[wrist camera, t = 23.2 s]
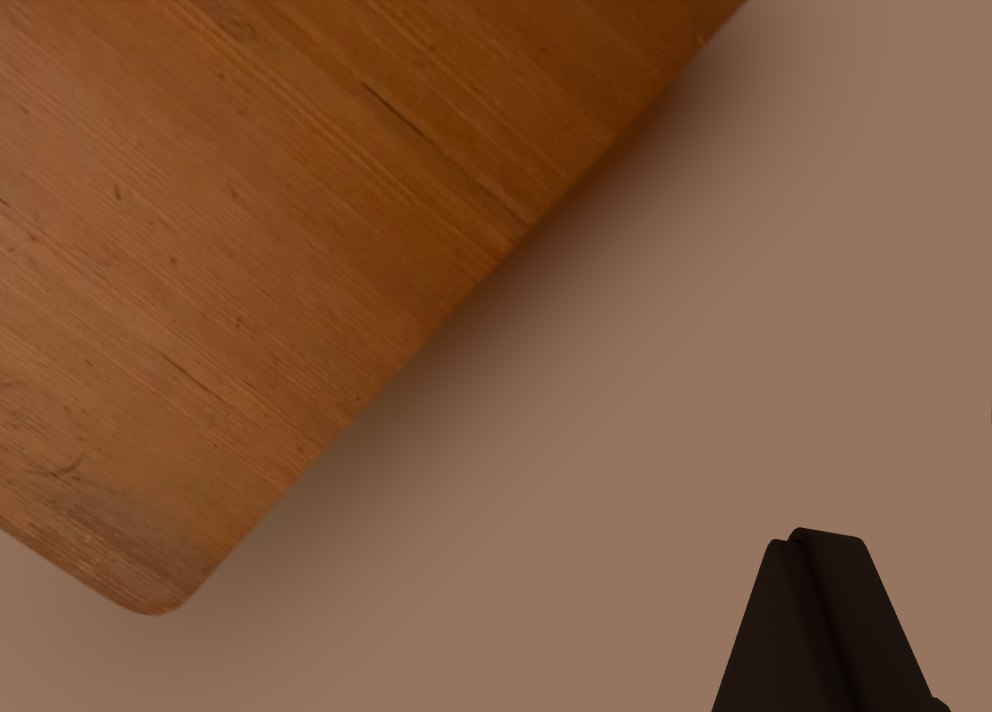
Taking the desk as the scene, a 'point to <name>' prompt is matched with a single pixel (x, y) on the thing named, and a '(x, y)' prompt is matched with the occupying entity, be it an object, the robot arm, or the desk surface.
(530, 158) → the desk surface
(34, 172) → the desk surface
